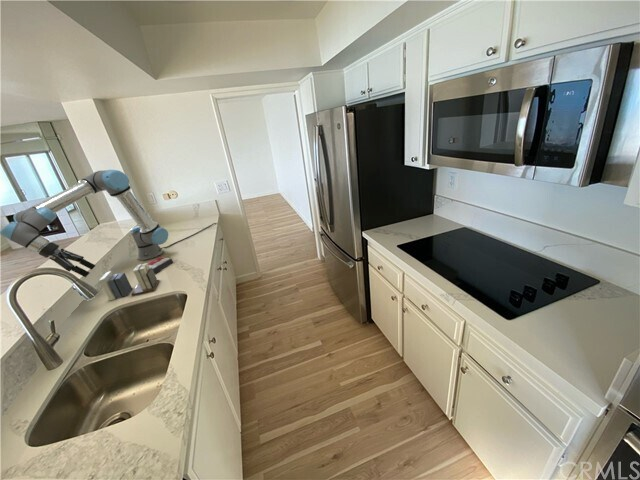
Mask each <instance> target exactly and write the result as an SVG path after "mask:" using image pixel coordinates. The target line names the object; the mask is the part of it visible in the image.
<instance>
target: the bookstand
mask: <svg viewBox="0 0 640 480" xmlns="http://www.w3.org/2000/svg"><path fill="white" fill-rule="evenodd" d="M148 263H149V262H146V263H145V262H144V263H143V264H142V263H140V264H137V265H136V266H135V268H134V269H133V270H132V271H133V273H134V276H135V278H136V280H137V282H138V284H137V285H136V286H135V288H134V290H133V291H132V292H131V296H132V297H135V296H138V295H139V296H140V295H143V294H148V293H152V292H155V290H156V288H157V286H158V285H159V283H160V279H157V276H156V274H154V271H153V269H152V268H150V267H149V265H148Z"/></svg>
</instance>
